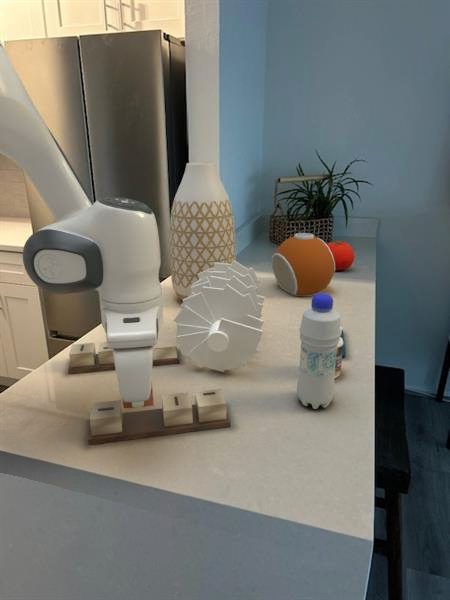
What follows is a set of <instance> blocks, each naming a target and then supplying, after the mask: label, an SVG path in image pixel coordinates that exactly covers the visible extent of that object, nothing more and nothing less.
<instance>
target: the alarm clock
mask: <svg viewBox="0 0 450 600" xmlns="http://www.w3.org/2000/svg"><path fill="white" fill-rule="evenodd" d="M271 269H272V273H273V275H274V277H275V280H276V282H277V284H278V285H279V287H280V289H282V290H284V291H285V292H287V293H289V294H290V295H292V296H298V297H313V296H314V295H316V294H321V293H322V291H323V290H325V289H326V288H327V287H328V286H329V285H330V283H331V281H332V279H333V277H334V275H335V272H336V270H335V261H334V257H333V254H332V252H331V251H330V249H329V247H328V246H327V243H326V242H325V241H324V240H323V239H321V238H319V237H317V236H315V235H314V234H313V233H309V232H298V233H295V234H294V236H290V237H289V238H287V239H285V240H284V241H283V242H282V243H281V244H280V245H279V246H278V247H277V248H276V250H275V251H274V252H273V254H272V256H271Z"/></svg>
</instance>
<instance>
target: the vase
mask: <svg viewBox="0 0 450 600" xmlns="http://www.w3.org/2000/svg"><path fill="white" fill-rule="evenodd" d="M173 198H174V199H173V202H172V206H171V212H170V217H169V218H170V219H169V260H170V263H169V264H170V278H171V283H172V284H171V285H172V288H173V291H174V292H175V295H176V296H177V297H178V298H179V299H180V300H181V301H183V299H185V298H188V297H189V295H190V294H191V292H190V291H191V287H192V286H191V285H192V284H193V283H195V282H197V281H198V280H199V279H200V278H199V277H198V274H199V273H201V272H203V271H206V270H208V269H210V268H212V267H213V268H214V262H215V263H225V264H232V262H233V261H234V260H235V261H236V262H237V251H236V250H237V248H236V247H237V246H236V229H235V228H236V227H235V226H236V225H235V218H234V212H233V207H232V203H231V201H230V197H229V195H228V193H227V191H226V189H225V186H224V184H223V182H222V180H221V178H220V175H219V173H218V170H217V166H216V163H215V162H187V163H186V165H185V170H184V173H183V176H182V179H181V182H180V184H179V186H178V188H177V191H176V193H175V196H174V197H173Z"/></svg>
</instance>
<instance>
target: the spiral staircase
mask: <svg viewBox="0 0 450 600" xmlns="http://www.w3.org/2000/svg"><path fill="white" fill-rule="evenodd" d="M198 277H199V278H200V279H199V280H198V281H197V282H195V283H193V284H192V285H191V286H192V287H191V291H190V292H191V294H190V295H189V297H188V298H185V299H183V300H182V303H181V304H180V308H182V309H180V311H179V312H178V313H177V315H176V316H175V317H174V319H173V322H175V324H177V325H176V341H175V343H176V344H178V346H179V349H180V352H181V355H186V356H187V357H188V358H189V359H190V360H191V361H192V362H193V363H194V364H195V365H197V366H198V367H199V368H200V369H202V368H204V367H205V368H208V369H211V370H215V371H218V372H221V373H225V371H227V370H233V369H240V368H246V367H247V365H246V363H248V362H249V361H251V359H252V358H254V357H255V356H256V355H257V354H259V353H260V352H261V350H260V349H259V348H258V345H259V342H260V340H261V338H262V335H263V333H264V330H262V327H263V325H264V323H265V320H263V319H261V317H263V316H264V315H263V313H262V311H263V307H264V301H265V298H266V297H265V296H262V295H259V294H257V292H256V291H257V290H258V287H257V284H259V283H260V282H261V281H260V280H259V278H258V275H257V273H256V270H255V269H254V267H253V266H252V267H250V268H247V267H246V266H243V264H241V263H239V262H238V261H237V260H236V261H235V260H234V261H233V262H232V264H225V263H215V262H214V268H213V267H212V268H210V269H208V270H206V271H203V272H201V273H199V274H198Z"/></svg>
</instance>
